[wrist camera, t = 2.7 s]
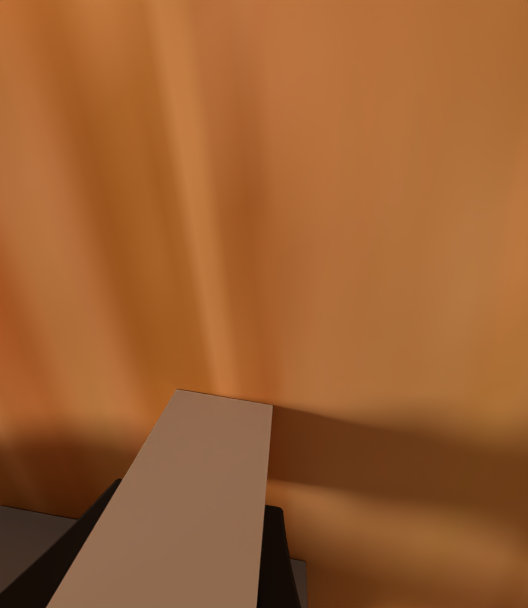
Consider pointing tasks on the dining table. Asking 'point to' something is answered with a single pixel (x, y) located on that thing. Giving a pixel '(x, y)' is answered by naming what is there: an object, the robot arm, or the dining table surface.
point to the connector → (182, 514)
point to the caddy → (48, 529)
